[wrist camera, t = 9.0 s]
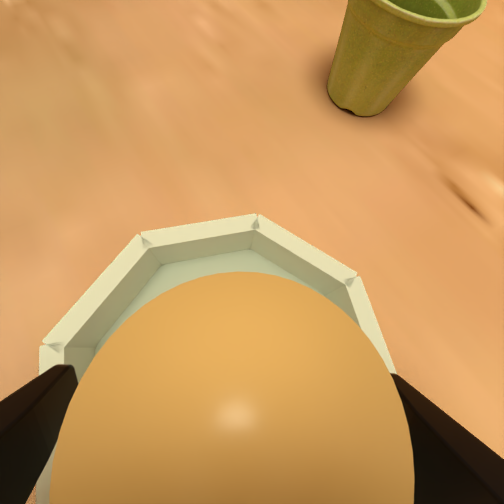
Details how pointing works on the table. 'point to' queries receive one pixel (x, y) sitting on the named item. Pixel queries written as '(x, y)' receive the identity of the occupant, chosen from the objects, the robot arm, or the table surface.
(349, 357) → the orange tapered cylinder
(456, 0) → the plant pot
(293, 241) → the sage bowl
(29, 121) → the table surface
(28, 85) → the table surface
